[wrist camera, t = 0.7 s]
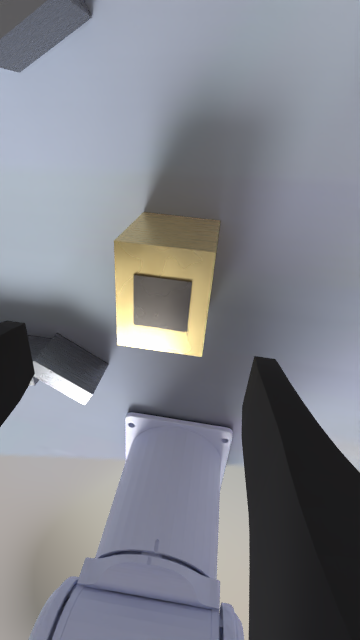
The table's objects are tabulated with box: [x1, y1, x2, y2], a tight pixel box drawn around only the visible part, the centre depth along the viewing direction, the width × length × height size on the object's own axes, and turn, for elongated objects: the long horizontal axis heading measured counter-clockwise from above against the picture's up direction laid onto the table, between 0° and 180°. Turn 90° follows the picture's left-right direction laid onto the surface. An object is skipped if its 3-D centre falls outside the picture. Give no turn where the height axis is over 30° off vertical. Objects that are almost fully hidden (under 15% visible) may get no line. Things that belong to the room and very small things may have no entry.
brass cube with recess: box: [114, 212, 220, 357], centre depth 16 cm, size 5×4×5 cm
